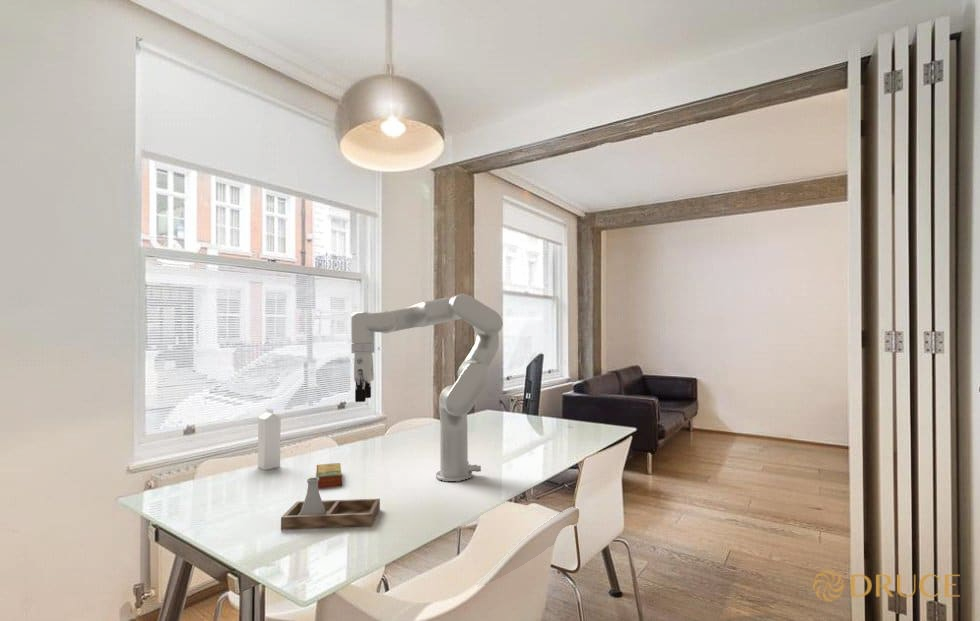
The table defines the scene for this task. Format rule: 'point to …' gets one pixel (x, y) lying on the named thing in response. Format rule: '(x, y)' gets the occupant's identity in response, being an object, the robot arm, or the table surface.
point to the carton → (329, 475)
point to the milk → (269, 440)
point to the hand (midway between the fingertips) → (363, 399)
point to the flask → (313, 499)
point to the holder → (333, 515)
